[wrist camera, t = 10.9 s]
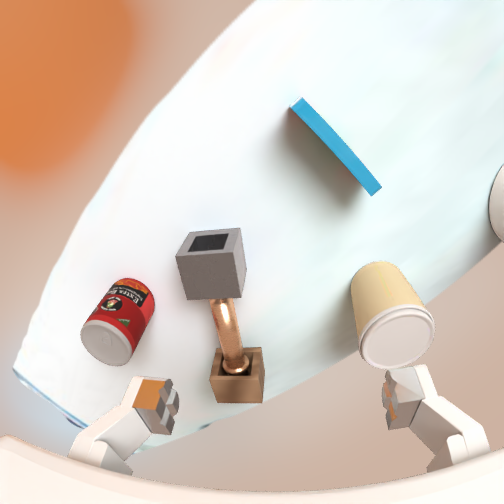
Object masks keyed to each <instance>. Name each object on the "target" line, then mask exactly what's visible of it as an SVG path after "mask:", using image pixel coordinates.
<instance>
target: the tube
mask: <svg viewBox="0 0 504 504" xmlns="http://www.w3.org/2000/svg"><path fill="white" fill-rule="evenodd" d="M209 301H210V305H211V309H212V313H213V317H214V321H215V325H216V329H217V333H218V337H219V340H220V344H221V348H222V352H223V355H224V360H223V368H224V371H225V372H226V373H227V374H229V376H249V375H248V371H247V370H248V368H249V359H248V357H247V356H246V355H244V352H243V347H242V342H241V337H240V332H239V327H238V323H237V318H236V313H235V308H234V303H233V298H224V299H209Z"/></svg>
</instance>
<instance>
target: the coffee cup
mask: <svg viewBox="0 0 504 504" xmlns="http://www.w3.org/2000/svg"><path fill="white" fill-rule="evenodd" d="M351 297H352V303H353V309H354V316H355V322H356V329H357V335H358V348H359V352H360V355H361V357H362V358H363V359H364V360H365V361H366V362H367V363H368V364H369V365H371V366H373V367H375V368H378V369H385V370H389V369H397V368H401V367H404V366H406V365H409V364H411V363H412V362H414V361H416V360H417V359H419V358H420V357H421V356H422V355H423V354H424V353H425V352H426V351H427V350H428V348H429V346H430V345H431V343H432V341H433V339H434V334H435V322H434V319H433V317H432V315H431V314H430V313H429V311H428V310H427V309H426V308H425V306H424V304H423V303H422V301H421V300H420V298H419V297H418V295H417V294H416V292H415V291H414V289H413V288H412V286H411V285H410V284H409V282H408V281H407V279H406V278H405V277H404V275H403V274H402V272H401V271H400V270H399V269H398V268H397V266H395V265H394V264H392V263H390V262H387V261H375V262H371V263H368V264H366V265H365V266H363V267H362V268H361V269H359V270H358V272H357V273H356V274H355V276H354V277H353V279H352V282H351Z"/></svg>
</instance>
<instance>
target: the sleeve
mask: <svg viewBox="0 0 504 504" xmlns="http://www.w3.org/2000/svg"><path fill="white" fill-rule="evenodd" d="M175 257H176V261H177V264H178V268H179V272H180V275H181V279H182V283H183V286H184V290H185V293H186V297H187V300H200V299H224V298H241V296H242V291H243V286H244V281H245V275H246V270H247V268H246V262H245V255H244V249H243V243H242V236H241V230H240V228H231V229H220V230H209V231H198V232H190V233H189V234H188V236H187V238H186V239H185V241H184V243H183V244H182V246H181V248H180V249H179V251H178V253H177V254H176V256H175Z"/></svg>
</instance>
